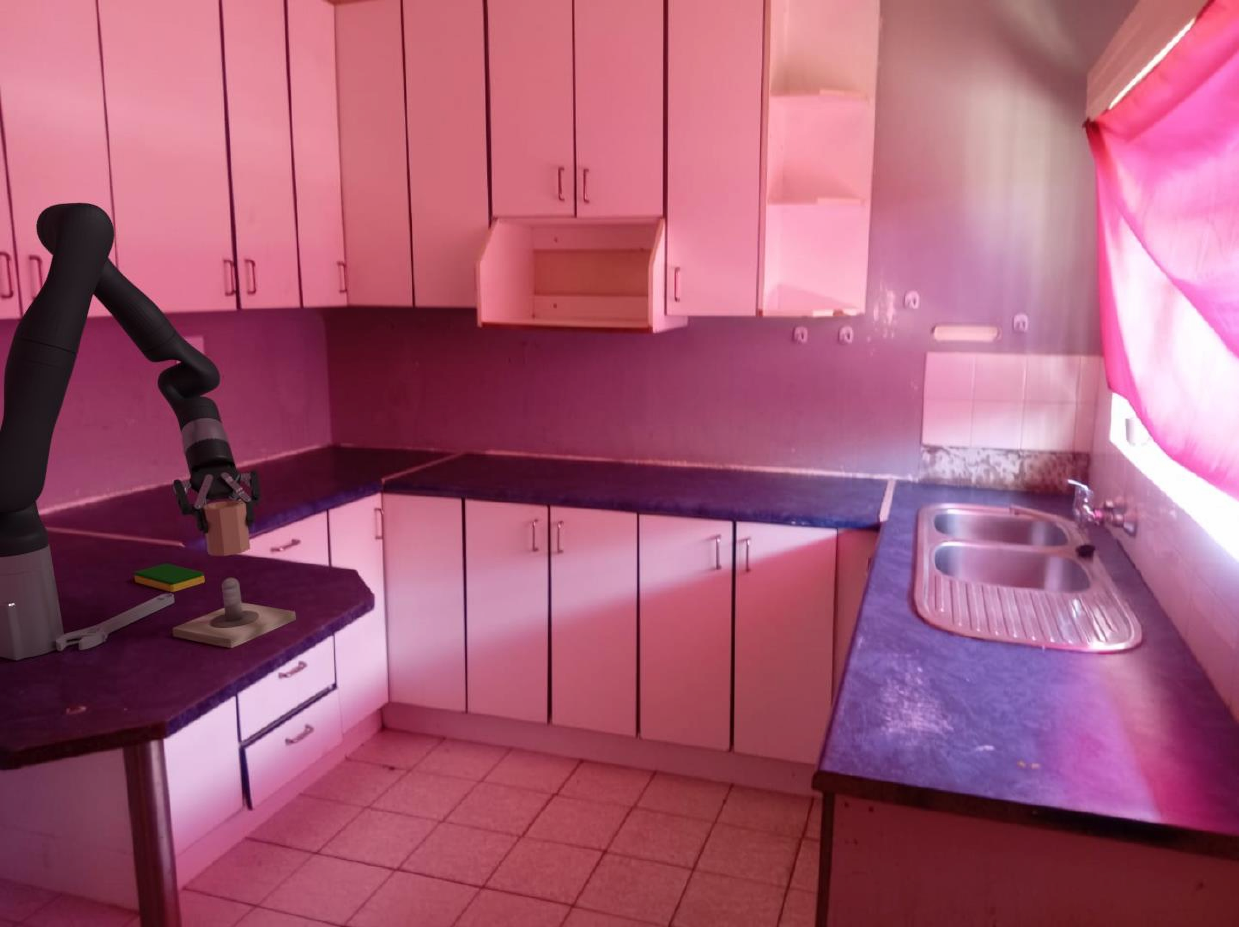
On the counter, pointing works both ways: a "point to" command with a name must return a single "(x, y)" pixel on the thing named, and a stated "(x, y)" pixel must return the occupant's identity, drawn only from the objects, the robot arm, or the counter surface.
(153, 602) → the adjustable wrench
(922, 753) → the counter surface
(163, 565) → the dish sponge
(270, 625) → the post stand
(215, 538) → the collar
